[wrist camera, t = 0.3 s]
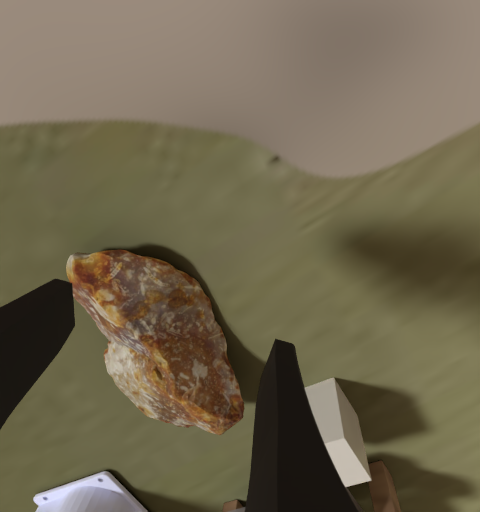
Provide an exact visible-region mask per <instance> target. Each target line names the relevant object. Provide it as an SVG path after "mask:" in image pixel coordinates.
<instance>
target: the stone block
mask: <svg viewBox="0 0 480 512" xmlns="http://www.w3.org/2000/svg"><path fill="white" fill-rule="evenodd" d="M305 391H306V394H307V397H308V401H309V404H310V407H311V410H312V413H313V416H314V418H315V421H316V424H317V426H318V429H319V431H320V434H321V436H322V439H323V441H324V444H325V446H326V448H327V451H328V453H329V455H330V457H331V459H332V462H333V464H334V466H335V468H336V470H337V472H338V474H339V476H340V478H341V480H342V482H343V484H344V486H345V487H348V486H352V485H356V484H360V483H364V482H368V481H372V479H371V475H370V470H369V466H368V461H367V457H366V452H365V447H364V443H363V438H362V434H361V429H360V425H359V420H358V416H357V414H356V412H355V411H354V409H353V408H352V406H351V404H350V403H349V401H348V399H347V398H346V396H345V395H344V393H343V391H342V390H341V388H340V386H339V385H338V383H337V382H336V380H335V378H331V379H328V380H325V381H322V382H319V383H317V384H314V385H311V386H308V387H305Z"/></svg>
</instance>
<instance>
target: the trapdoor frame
mask: <svg viewBox="0 0 480 512" xmlns="http://www.w3.org/2000/svg"><path fill="white" fill-rule="evenodd" d="M368 466H369V470H370V475H371V479H372V481H368V484H369V488H370V493H371V498H372V503H373V507H374V512H401V509H400V505H399V501H398V498H397V494H396V490H395V487H394V483H393V479H392V476H391V474H390V473H389V471H388V470H387V468H386V466H385V465H384V463H383V461H382V460H381V461H377V462H373V463H370V464H368ZM239 508H243V506H242V505H241V503H240V502H239V501H238V500H234V501H230V502H226V503H224V506H223V512H228V511H231V510H235V509H239Z"/></svg>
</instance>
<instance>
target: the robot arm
mask: <svg viewBox="0 0 480 512" xmlns="http://www.w3.org/2000/svg"><path fill="white" fill-rule="evenodd" d="M74 326H75V317H74V301H73V285H72V283H70V282H66V281H63V280H59V279H54V280H52V281H50V282H48V283H46V284H44V285H42V286H40V287H38V288H36V289H35V290H33V291H31V292H29V293H27V294H25V295H23V296H21V297H20V298H18V299H16V300H14V301H12V302H10V303H8V304H6V305H4V306H2V307H0V429H1V428H2V426H3V424H4V423H5V421H6V420H7V418H8V417H9V416H10V414H11V413H12V411H13V410H14V409H15V407H16V406H17V405H18V403H19V402H20V401H21V400H22V398H23V397H24V396H25V395H26V393H27V392H28V391H29V390H30V388H31V387H32V386H33V384H34V383H35V382H36V381H37V379H38V378H39V377H40V376H41V374H42V373H43V372H44V371H45V369H46V368H47V367H48V365H49V364H50V363H51V362H52V360H53V359H54V358H55V356H56V355H57V354H58V352H59V351H60V350H61V348H62V346H63V345H64V343H65V342H66V340H67V338H68V337H69V335H70V333H71V331H72V330H73V328H74ZM33 500H34V502H35V503H36V504H37V505H39V507H38V508H37V510H36V512H148V511H147V510H146V509H145V508H144V507H143V506H142V505H141V504H140V503H139V502H138V501H137V500H136V499H135V498H134V497H133V496H132V495H131V494H130V493H129V492H128V491H127V490H126V489H125V488H124V486H123V485H122V484H121V483H120V482H119V481H118V480H117V479H116V478H115V477H114V476H113V475H112V474H111V473H109V472H107V471H103V472H100V473H98V474H95V475H92V476H89V477H86V478H83V479H80V480H77V481H74V482H71V483H68V484H65V485H62V486H60V487H57V488H54V489H51V490H48V491H45V492H42V493H39V494H36V495H35V497H34V499H33ZM245 512H359V511H358V509H357V507H356V506H355V504H354V502H353V500H352V498H351V497H350V495H349V493H348V491H347V489H346V487H345V486H344V484H343V482H342V480H341V478H340V476H339V474H338V472H337V470H336V468H335V466H334V464H333V462H332V459H331V457H330V455H329V453H328V451H327V448H326V446H325V444H324V441H323V439H322V436H321V434H320V431H319V429H318V426H317V424H316V421H315V418H314V416H313V413H312V410H311V407H310V404H309V401H308V397H307V394H306V391H305V388H304V384H303V381H302V377H301V373H300V369H299V365H298V361H297V356H296V350H295V346H294V345H293V344H292V343H288V342H285V341H281V340H278V339H275V341H274V344H273V347H272V349H271V352H270V355H269V357H268V360H267V363H266V365H265V368H264V371H263V373H262V376H261V380H260V386H259V391H258V396H257V402H256V409H255V422H254V434H253V447H252V460H251V472H250V481H249V489H248V495H247V501H246V507H245Z"/></svg>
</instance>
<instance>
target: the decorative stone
mask: <svg viewBox="0 0 480 512" xmlns="http://www.w3.org/2000/svg"><path fill="white" fill-rule="evenodd" d="M66 270H67V276H68V278H69V280H70V283H72V285H73V296H74V298H75V299H76V300H77V301H78V302H79V303H80V304H81V305H82V306H83V307H84V308H85V309H86V310H87V312H88V313H89V314H90V315H91V316H92V319H93V320H94V321H95V322H96V325H97V326H98V328H99V329H100V331H101V332H102V333H103V334H104V335H105V336H106V337H107V339H108V340H109V342H108V347H109V348H108V349H106V350H105V352H104V359H105V364H106V367H107V371H108V373H109V374H110V375H111V376H112V378H113V380H114V382H115V384H116V385H117V386H118V388H119V389H120V390H121V391H122V392H123V393H124V394H125V395H126V396H127V397H128V398H129V399H130V400H131V401H132V402H133V403H134V404H135V405H136V406H137V407H138V408H139V409H140V410H141V411H142V412H143V413H144V414H145V415H146V416H148V417H151V418H154V419H158V420H160V421H164V422H166V423H173V424H175V425H177V426H184V427H187V428H188V427H189V426H194V425H195V426H197V427H199V428H201V429H203V430H205V431H208V432H210V433H215V434H218V435H221V434H223V433H224V432H225V431H226V430H228V429H229V428H231V427H232V426H233V425H235V424H236V423H237V422H239V421H240V420H241V419H242V418H243V412H244V402H243V400H242V398H241V394H240V388H239V383H238V381H237V379H236V378H235V375H234V371H233V369H232V367H231V365H230V363H229V360H228V357H227V354H226V352H227V343H226V339H225V336H224V334H223V331H222V329H221V327H220V326H219V325H218V324H217V322H216V321H215V320H214V314H213V312H212V306H211V302H210V299H209V298H208V297H207V296H206V295H205V294H204V292H203V290H202V288H201V287H200V284H199V282H198V281H197V280H196V279H195V278H192V277H190V276H189V275H188V274H187V273H185V272H182V271H179V270H176V269H175V268H174V267H173V266H172V265H171V264H169V263H167V262H165V261H162V260H159V259H156V258H152V257H147V256H146V257H143V256H139V255H136V254H133V253H131V252H128V251H126V250H121V249H119V250H107V251H101V252H97V253H92V254H86V253H78V252H77V253H75V254H72V255H71V256H70V257H69V259H68V262H67V266H66Z"/></svg>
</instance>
